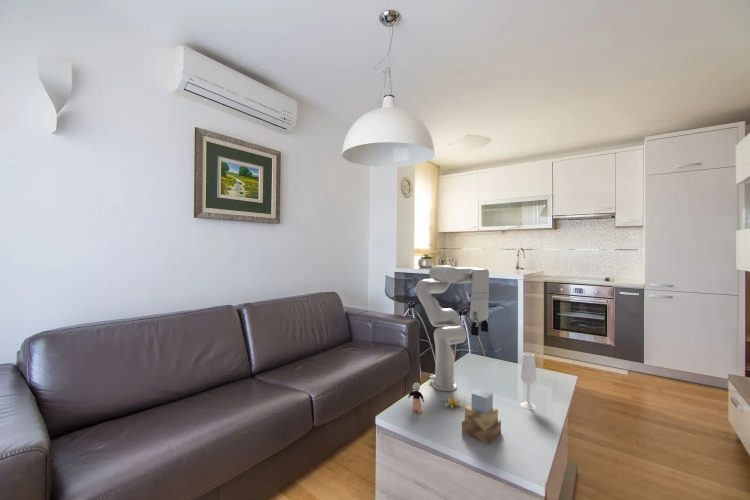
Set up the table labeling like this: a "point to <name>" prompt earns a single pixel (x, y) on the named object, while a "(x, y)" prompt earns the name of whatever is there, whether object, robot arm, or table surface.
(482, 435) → the tower bottom
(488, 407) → the blue cube
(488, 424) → the tower top
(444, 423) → the table surface
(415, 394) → the grandmother figurine
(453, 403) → the character toy
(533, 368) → the champagne flute
